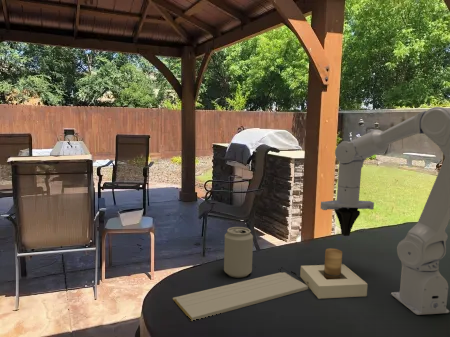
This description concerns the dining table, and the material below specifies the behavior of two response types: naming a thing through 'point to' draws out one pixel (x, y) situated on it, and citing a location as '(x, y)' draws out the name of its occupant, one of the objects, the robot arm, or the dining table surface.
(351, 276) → the socket board
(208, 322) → the dining table surface
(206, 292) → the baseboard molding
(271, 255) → the dining table surface
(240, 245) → the can
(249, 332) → the dining table surface
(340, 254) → the oak peg
